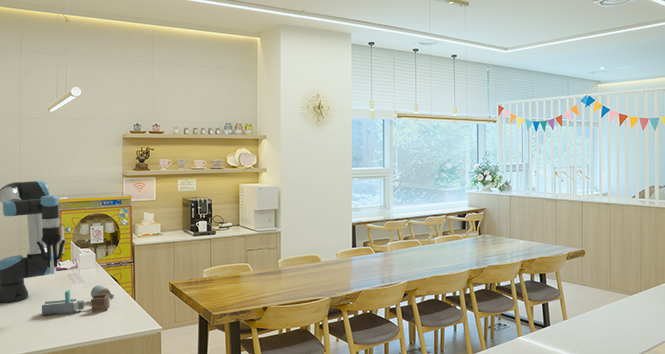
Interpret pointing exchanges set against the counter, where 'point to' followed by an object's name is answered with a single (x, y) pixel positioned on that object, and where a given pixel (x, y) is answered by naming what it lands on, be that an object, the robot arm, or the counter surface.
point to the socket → (100, 303)
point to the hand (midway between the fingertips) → (53, 273)
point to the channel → (58, 308)
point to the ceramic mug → (100, 291)
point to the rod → (77, 304)
